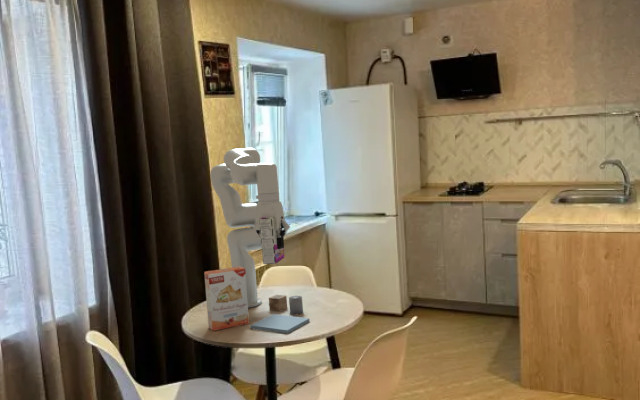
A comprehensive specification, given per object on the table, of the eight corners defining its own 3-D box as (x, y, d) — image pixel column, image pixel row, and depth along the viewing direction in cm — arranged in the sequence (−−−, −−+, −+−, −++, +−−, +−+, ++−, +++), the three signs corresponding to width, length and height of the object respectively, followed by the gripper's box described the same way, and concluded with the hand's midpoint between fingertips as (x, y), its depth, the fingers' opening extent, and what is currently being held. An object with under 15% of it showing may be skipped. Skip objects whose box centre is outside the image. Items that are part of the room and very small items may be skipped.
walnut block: (269, 310, 225) (268, 297, 225) (277, 306, 230) (276, 294, 229) (280, 311, 223) (279, 298, 222) (287, 307, 227) (286, 295, 227)
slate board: (250, 328, 203) (250, 325, 203) (273, 317, 215) (273, 314, 215) (287, 333, 195) (287, 330, 195) (309, 321, 207) (309, 318, 207)
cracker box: (213, 331, 203) (208, 274, 201) (208, 327, 208) (203, 271, 206) (250, 323, 209) (245, 267, 207) (244, 319, 214) (240, 265, 212)
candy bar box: (271, 258, 210) (268, 214, 209) (284, 258, 209) (281, 213, 208) (262, 264, 199) (258, 217, 198) (275, 264, 198) (272, 217, 197)
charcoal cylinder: (287, 313, 218) (286, 298, 218) (294, 310, 223) (293, 295, 222) (298, 315, 216) (297, 299, 215) (305, 311, 220) (304, 296, 220)
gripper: (243, 199, 204) (247, 249, 205) (282, 198, 195) (286, 250, 196) (256, 197, 210) (260, 245, 211) (294, 196, 201) (298, 246, 202)
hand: (272, 247), depth 204 cm, fingers closed on candy bar box, 6 cm apart
